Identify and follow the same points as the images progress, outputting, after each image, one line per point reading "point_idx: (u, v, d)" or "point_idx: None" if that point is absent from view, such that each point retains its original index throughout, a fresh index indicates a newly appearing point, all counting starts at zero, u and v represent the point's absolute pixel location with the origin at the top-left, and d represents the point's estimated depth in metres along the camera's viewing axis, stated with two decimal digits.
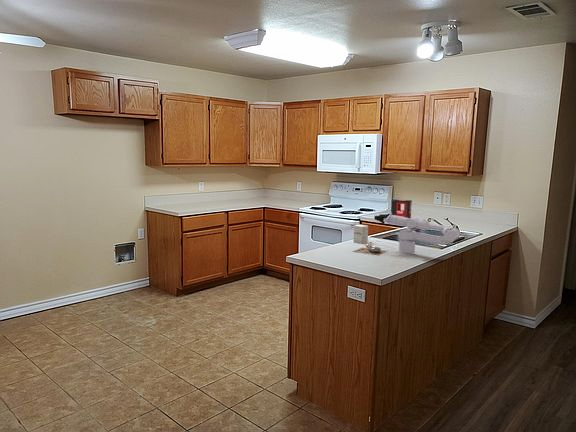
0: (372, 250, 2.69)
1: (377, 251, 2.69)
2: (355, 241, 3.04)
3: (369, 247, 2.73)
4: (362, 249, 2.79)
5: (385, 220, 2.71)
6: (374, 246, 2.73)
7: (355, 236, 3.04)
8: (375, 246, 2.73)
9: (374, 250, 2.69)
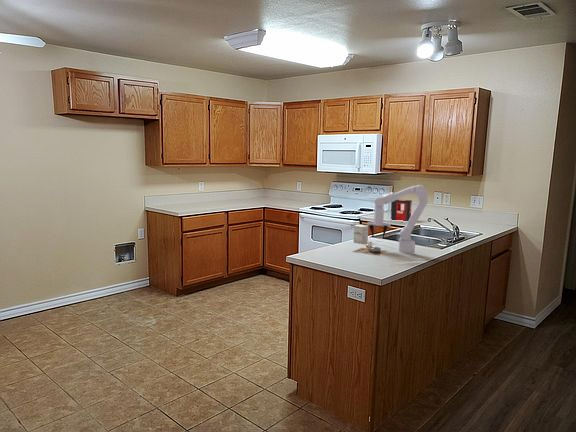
0: (372, 250, 2.69)
1: (377, 251, 2.69)
2: (355, 241, 3.04)
3: (369, 247, 2.73)
4: (362, 249, 2.79)
5: (390, 224, 2.74)
6: (374, 246, 2.73)
7: (355, 236, 3.04)
8: (375, 246, 2.73)
9: (374, 250, 2.69)
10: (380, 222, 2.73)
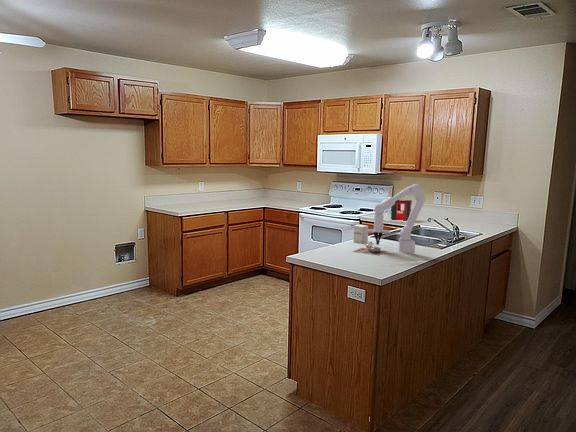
0: (372, 250, 2.69)
1: (377, 251, 2.69)
2: (355, 241, 3.04)
3: (369, 247, 2.73)
4: (362, 249, 2.79)
5: None
6: (374, 246, 2.73)
7: (355, 236, 3.04)
8: (375, 246, 2.73)
9: (374, 250, 2.69)
10: (380, 229, 2.73)
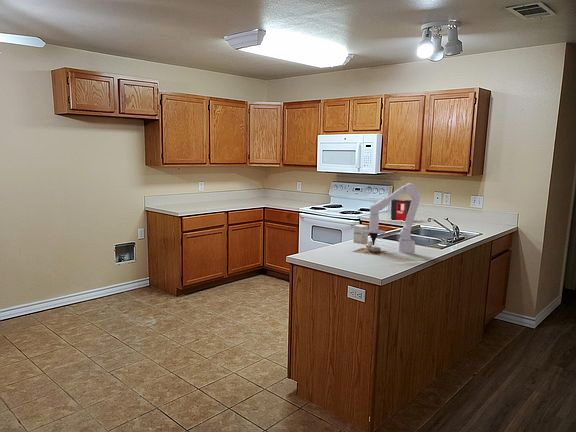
0: (372, 250, 2.69)
1: (377, 251, 2.69)
2: (355, 241, 3.04)
3: (369, 247, 2.73)
4: (362, 249, 2.79)
5: None
6: (374, 246, 2.73)
7: (355, 236, 3.04)
8: (375, 246, 2.73)
9: (374, 250, 2.69)
10: (375, 230, 2.74)
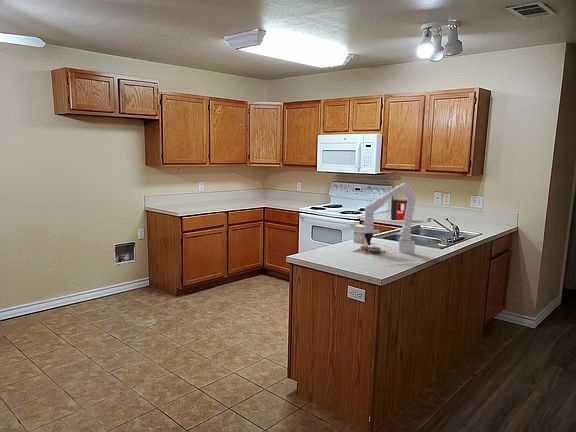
0: (375, 250, 2.69)
1: (379, 251, 2.70)
2: (355, 241, 3.04)
3: (369, 248, 2.72)
4: (362, 249, 2.79)
5: None
6: (374, 246, 2.72)
7: (355, 236, 3.04)
8: (374, 246, 2.73)
9: (377, 250, 2.69)
10: (372, 230, 2.74)
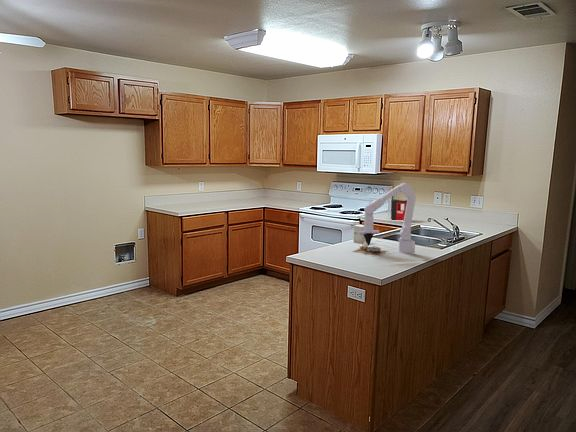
0: (375, 250, 2.69)
1: (379, 251, 2.70)
2: (355, 241, 3.04)
3: (369, 248, 2.71)
4: (362, 249, 2.79)
5: None
6: (373, 246, 2.72)
7: (355, 236, 3.04)
8: (374, 246, 2.73)
9: (377, 250, 2.69)
10: (372, 230, 2.74)
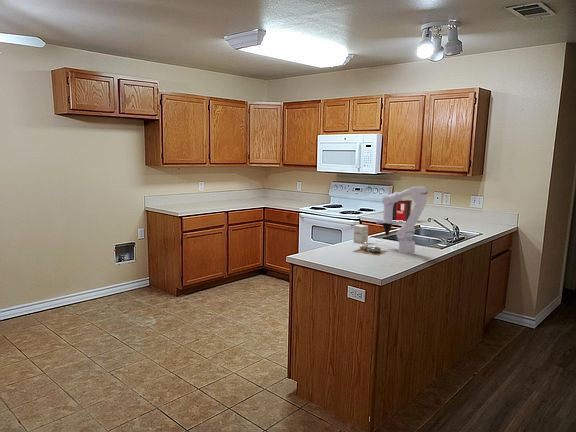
0: (375, 250, 2.69)
1: (379, 251, 2.70)
2: (355, 241, 3.04)
3: (369, 248, 2.71)
4: (362, 249, 2.79)
5: (398, 222, 2.81)
6: (373, 246, 2.72)
7: (355, 236, 3.04)
8: (374, 246, 2.73)
9: (377, 250, 2.69)
10: (388, 220, 2.81)
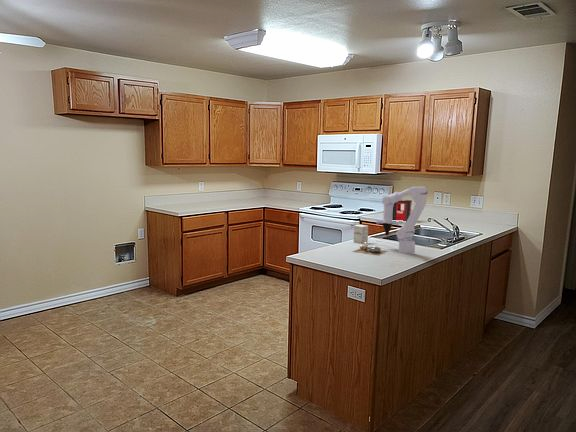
0: (375, 250, 2.69)
1: (379, 251, 2.70)
2: (355, 241, 3.04)
3: (369, 248, 2.71)
4: (362, 249, 2.79)
5: (398, 222, 2.81)
6: (373, 246, 2.72)
7: (355, 236, 3.04)
8: (374, 246, 2.73)
9: (377, 250, 2.69)
10: (388, 220, 2.81)
